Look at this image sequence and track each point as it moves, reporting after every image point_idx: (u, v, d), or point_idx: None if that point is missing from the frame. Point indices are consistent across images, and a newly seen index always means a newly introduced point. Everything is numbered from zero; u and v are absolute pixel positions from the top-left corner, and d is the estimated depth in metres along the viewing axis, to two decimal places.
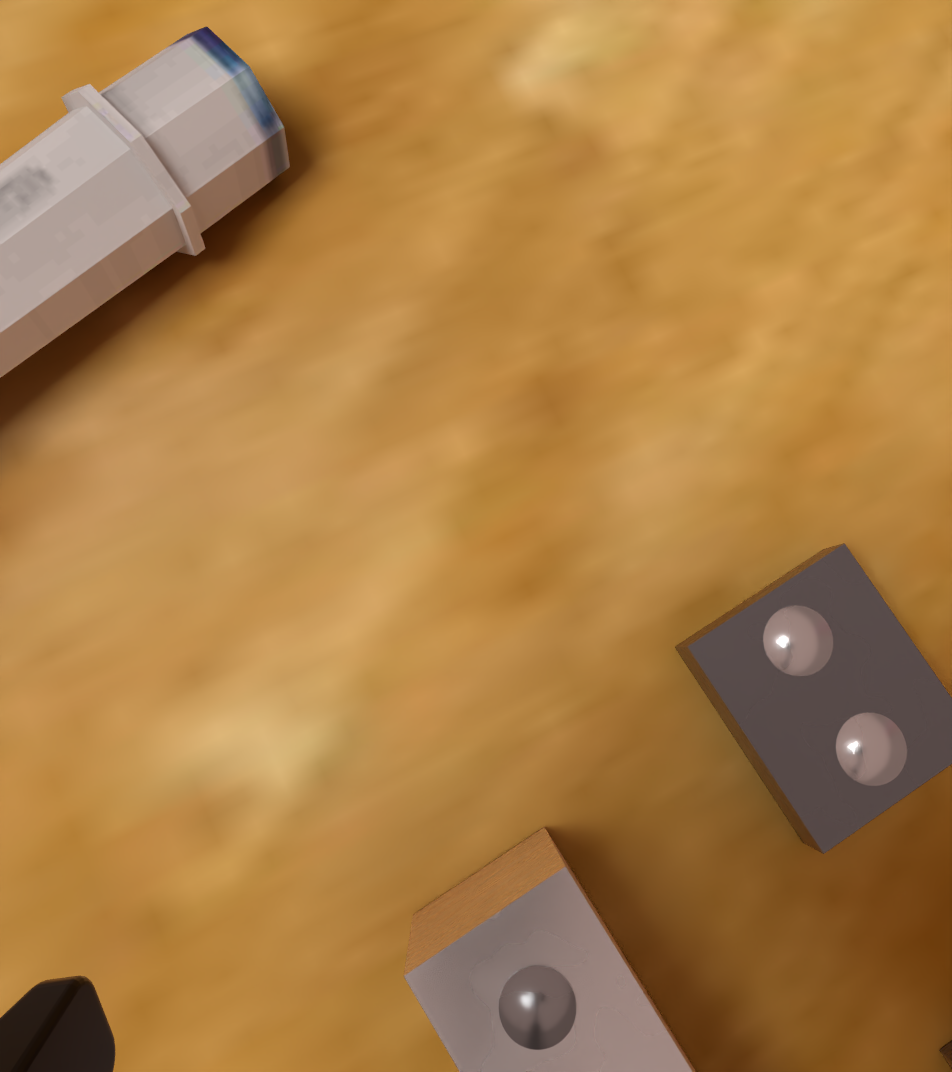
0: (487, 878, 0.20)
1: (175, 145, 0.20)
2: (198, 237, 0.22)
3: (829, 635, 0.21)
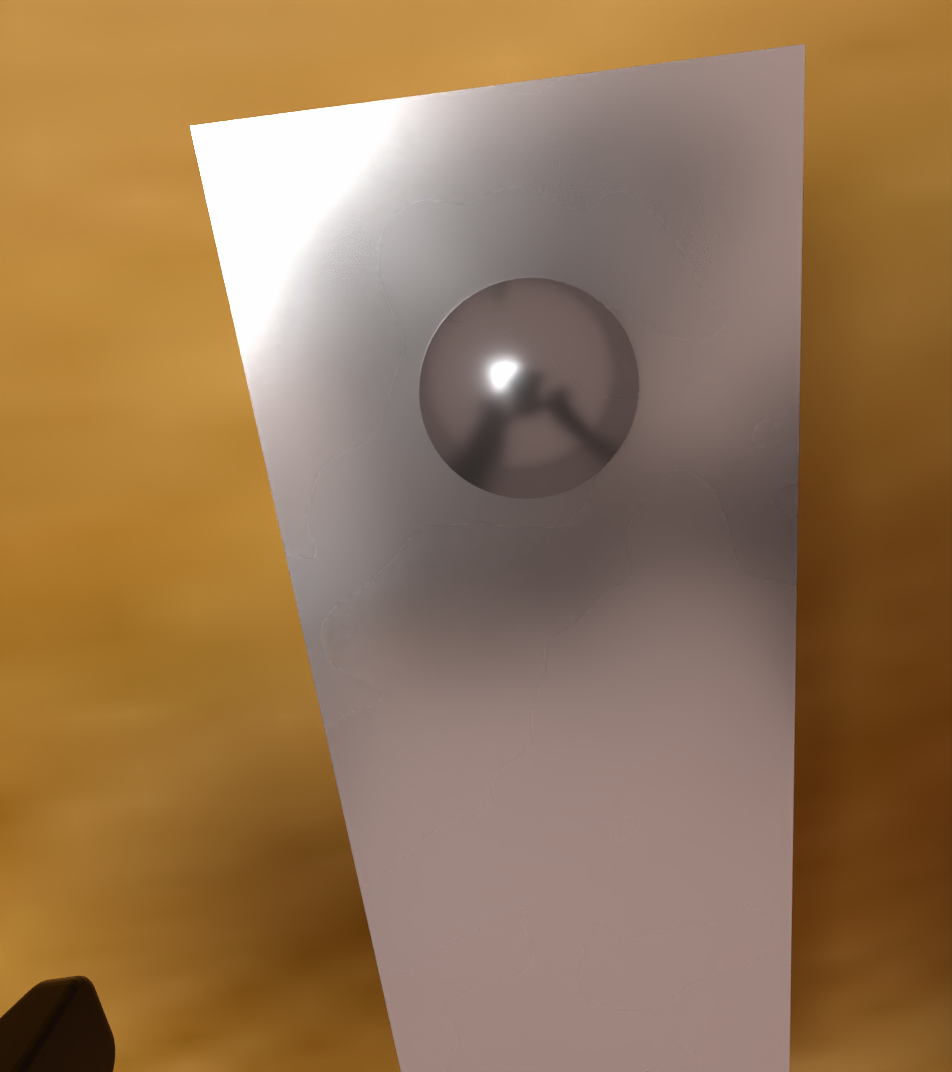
0: None
1: None
2: None
3: None
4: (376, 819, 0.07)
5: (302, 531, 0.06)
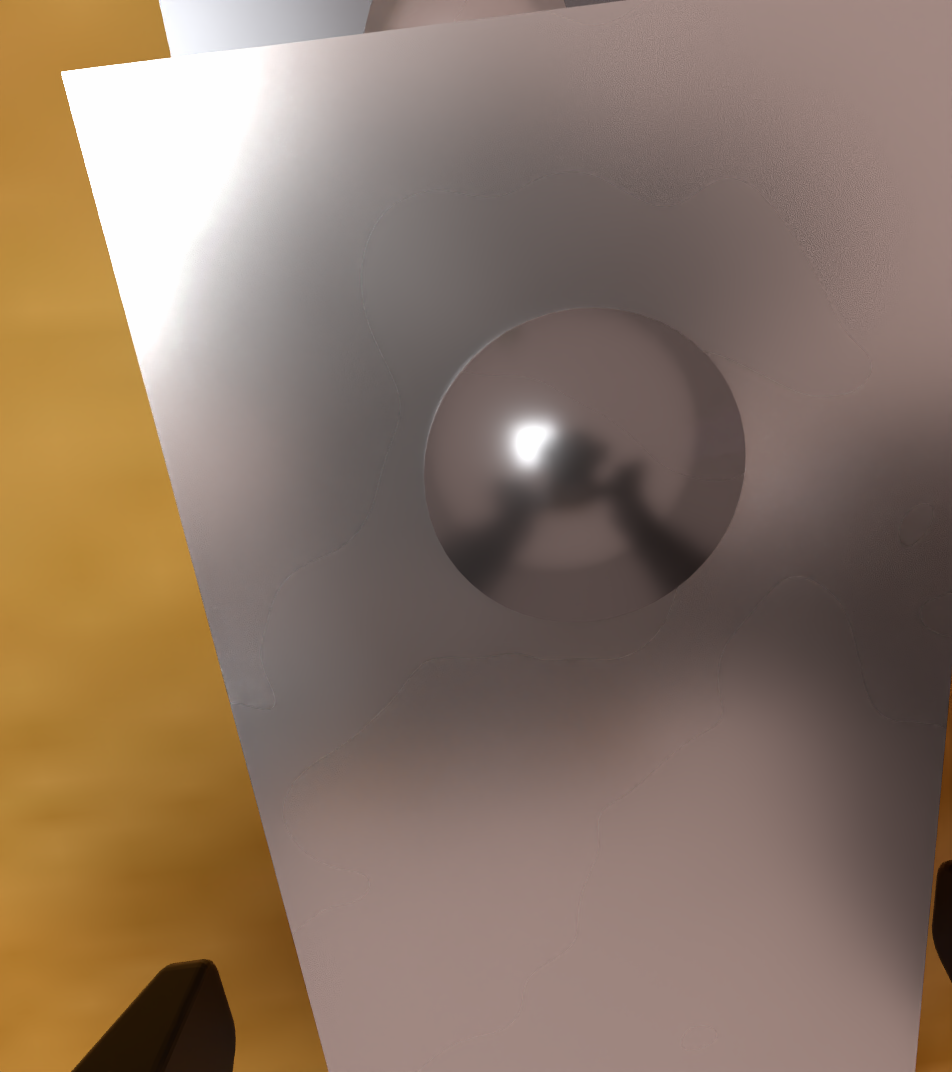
0: None
1: None
2: None
3: None
4: (364, 1040, 0.05)
5: (254, 672, 0.04)
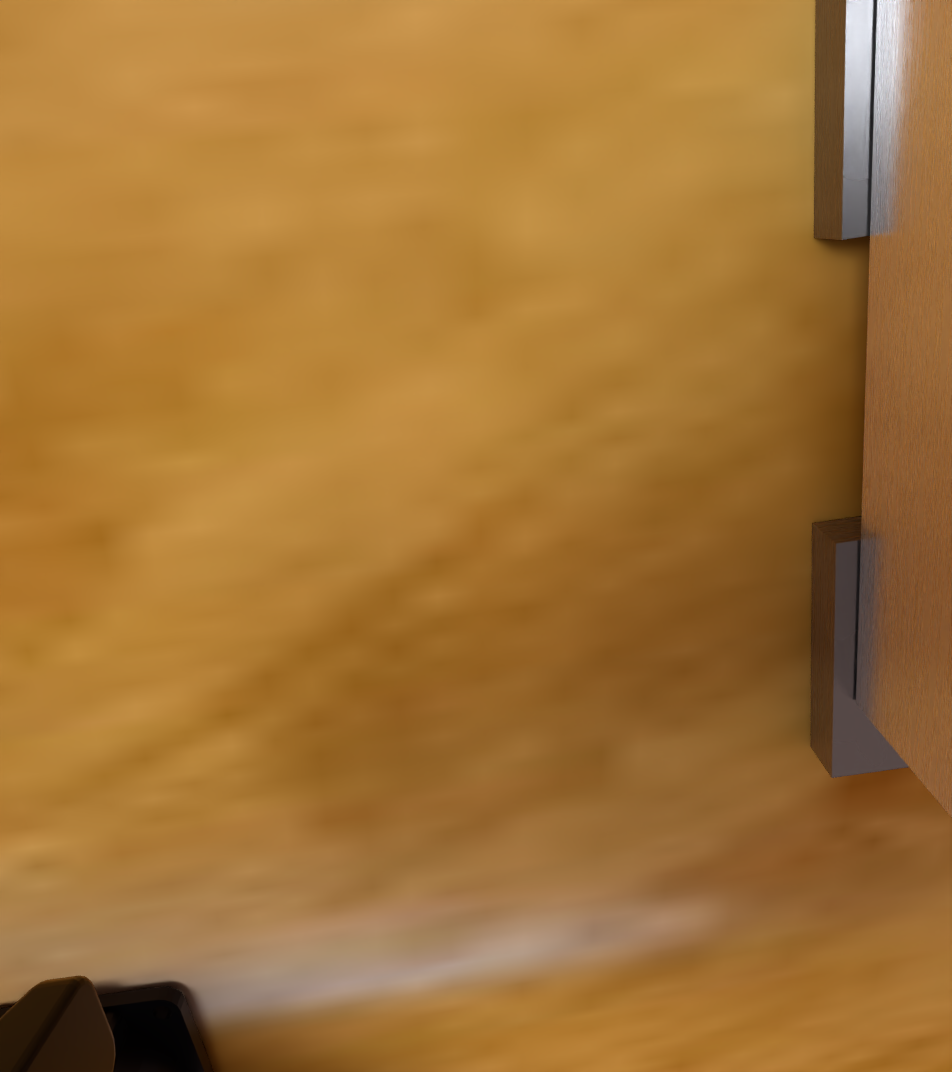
0: None
1: None
2: None
3: None
4: None
5: None
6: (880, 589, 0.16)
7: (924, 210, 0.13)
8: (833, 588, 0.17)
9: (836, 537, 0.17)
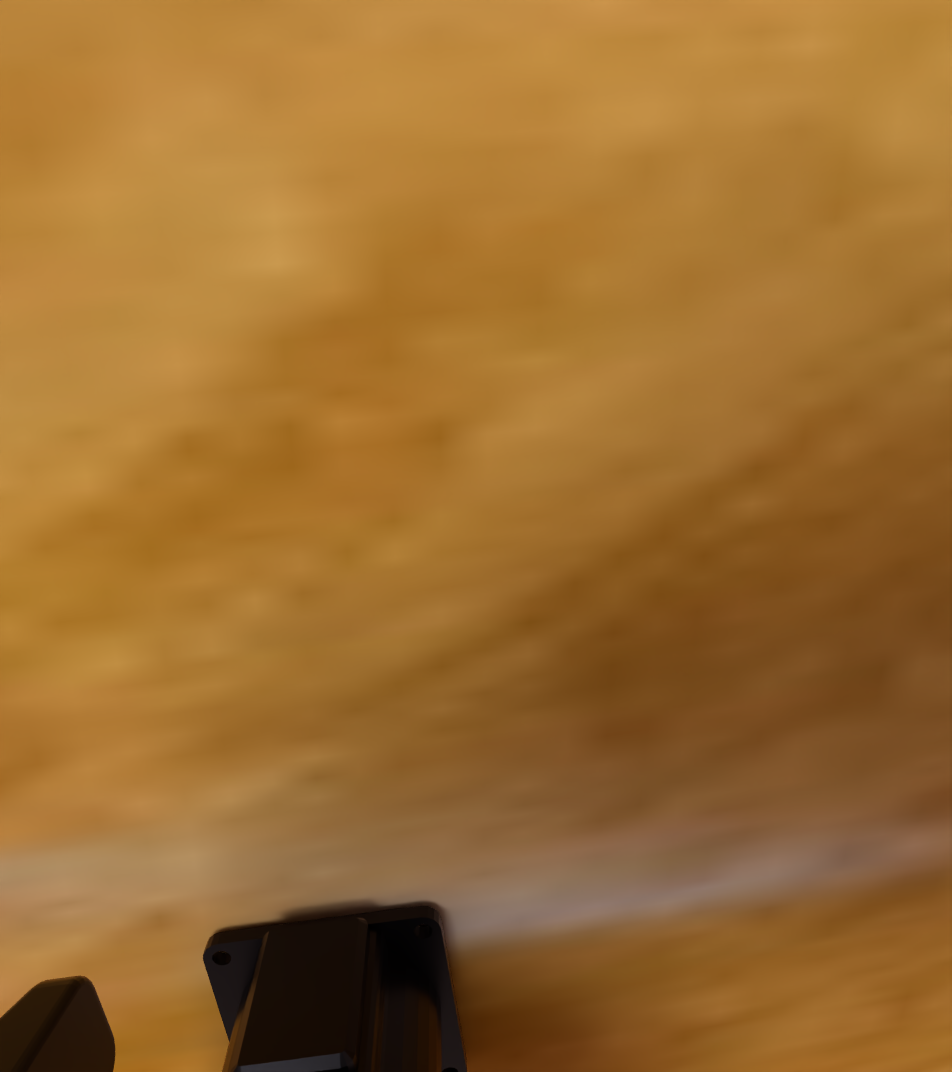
0: None
1: None
2: None
3: None
4: None
5: None
6: None
7: None
8: None
9: None
